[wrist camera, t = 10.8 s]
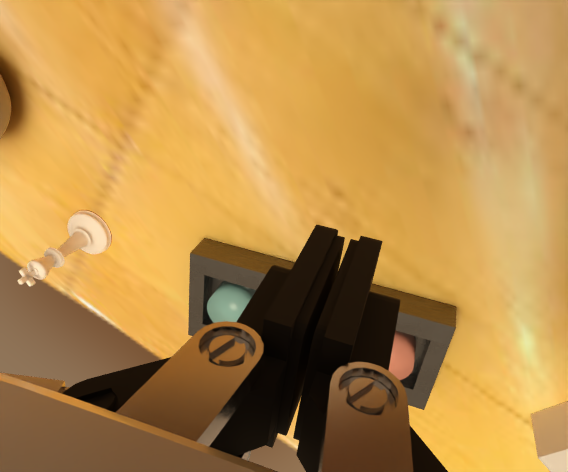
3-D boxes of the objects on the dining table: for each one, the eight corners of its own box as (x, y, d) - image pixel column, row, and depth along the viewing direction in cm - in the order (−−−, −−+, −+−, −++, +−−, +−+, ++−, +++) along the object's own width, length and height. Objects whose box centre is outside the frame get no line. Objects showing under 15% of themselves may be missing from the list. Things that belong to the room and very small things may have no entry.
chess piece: (87, 256, 53) (18, 309, 45) (63, 217, 52) (-13, 264, 43) (119, 246, 51) (53, 299, 43) (95, 204, 50) (21, 252, 41)
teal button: (263, 285, 46) (254, 300, 44) (259, 322, 49) (250, 338, 47) (219, 272, 47) (207, 286, 45) (217, 309, 50) (206, 324, 48)
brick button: (421, 330, 43) (419, 349, 41) (408, 367, 46) (406, 387, 44) (370, 316, 44) (366, 333, 42) (361, 353, 47) (356, 371, 44)
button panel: (455, 306, 42) (455, 327, 40) (425, 386, 48) (423, 409, 45) (204, 238, 47) (190, 253, 45) (201, 317, 52) (188, 334, 50)
